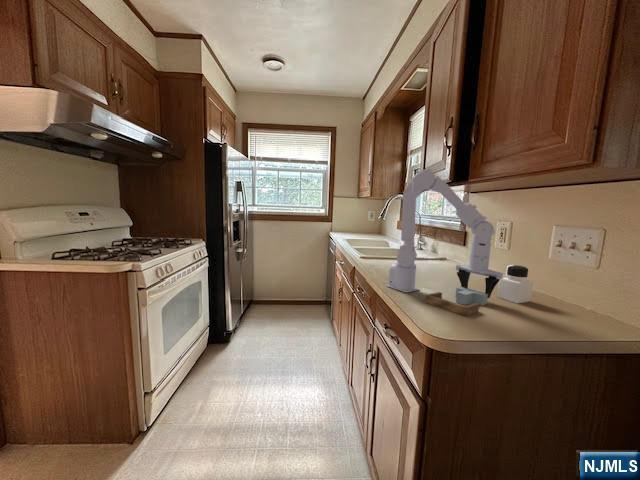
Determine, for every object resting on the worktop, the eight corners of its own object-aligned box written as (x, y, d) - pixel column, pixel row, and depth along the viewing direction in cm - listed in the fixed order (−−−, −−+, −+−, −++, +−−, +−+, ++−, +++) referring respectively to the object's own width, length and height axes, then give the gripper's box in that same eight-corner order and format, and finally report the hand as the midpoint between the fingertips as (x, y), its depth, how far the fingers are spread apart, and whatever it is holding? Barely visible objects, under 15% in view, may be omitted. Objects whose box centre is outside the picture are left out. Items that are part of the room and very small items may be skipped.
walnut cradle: (425, 302, 89) (426, 295, 89) (438, 298, 93) (438, 292, 93) (465, 316, 78) (466, 308, 78) (478, 311, 82) (479, 304, 82)
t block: (447, 299, 93) (448, 289, 92) (459, 296, 97) (460, 286, 97) (474, 308, 85) (475, 297, 85) (486, 304, 90) (487, 293, 89)
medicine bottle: (530, 301, 94) (535, 267, 92) (517, 303, 91) (521, 268, 90) (510, 295, 100) (513, 263, 99) (496, 297, 98) (500, 264, 96)
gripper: (508, 258, 89) (504, 299, 91) (464, 252, 101) (461, 287, 102) (499, 260, 85) (494, 302, 87) (454, 253, 97) (450, 290, 98)
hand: (475, 294), depth 94 cm, fingers open, 7 cm apart
